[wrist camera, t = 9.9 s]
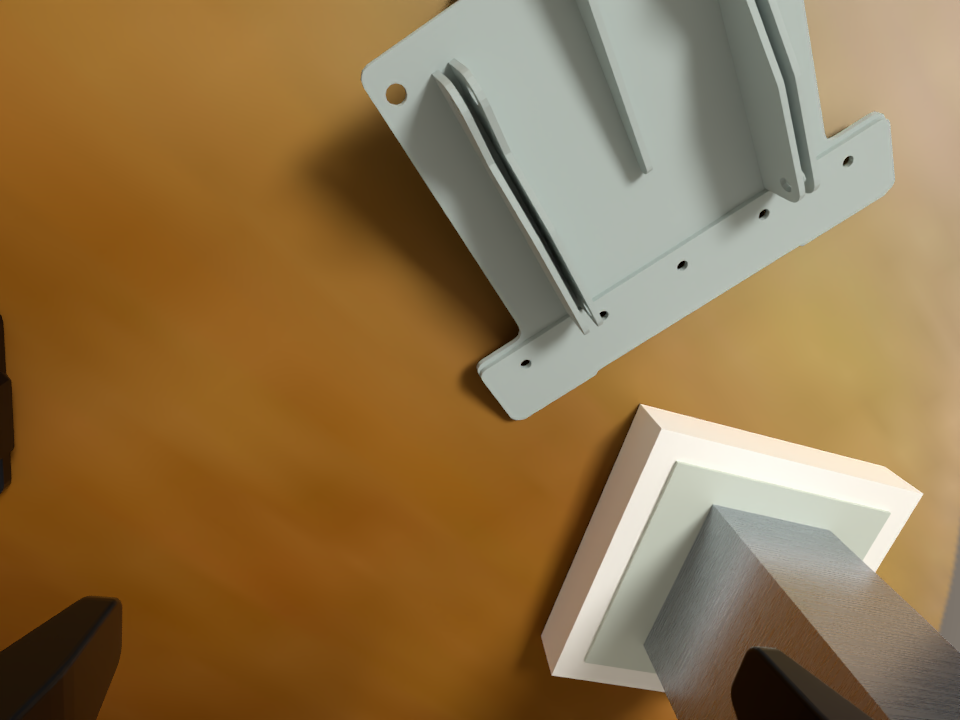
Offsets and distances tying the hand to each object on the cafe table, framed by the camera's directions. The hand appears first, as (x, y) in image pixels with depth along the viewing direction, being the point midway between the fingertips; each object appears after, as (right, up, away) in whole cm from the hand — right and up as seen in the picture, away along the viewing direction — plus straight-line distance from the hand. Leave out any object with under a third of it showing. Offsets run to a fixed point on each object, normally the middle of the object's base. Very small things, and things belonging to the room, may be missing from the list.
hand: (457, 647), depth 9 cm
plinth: (+10, -4, +17) cm, 20 cm away
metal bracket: (+5, +11, +11) cm, 16 cm away
